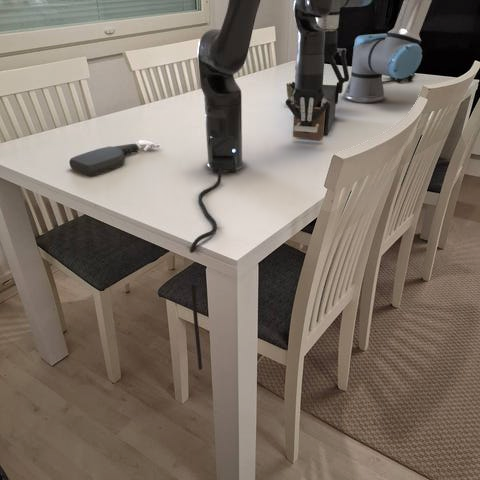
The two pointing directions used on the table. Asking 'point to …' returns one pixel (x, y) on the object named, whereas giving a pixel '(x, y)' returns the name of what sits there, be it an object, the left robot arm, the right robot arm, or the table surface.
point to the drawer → (317, 125)
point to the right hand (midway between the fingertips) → (320, 102)
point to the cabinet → (329, 95)
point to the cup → (291, 90)
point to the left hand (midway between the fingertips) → (306, 132)
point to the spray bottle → (106, 157)
